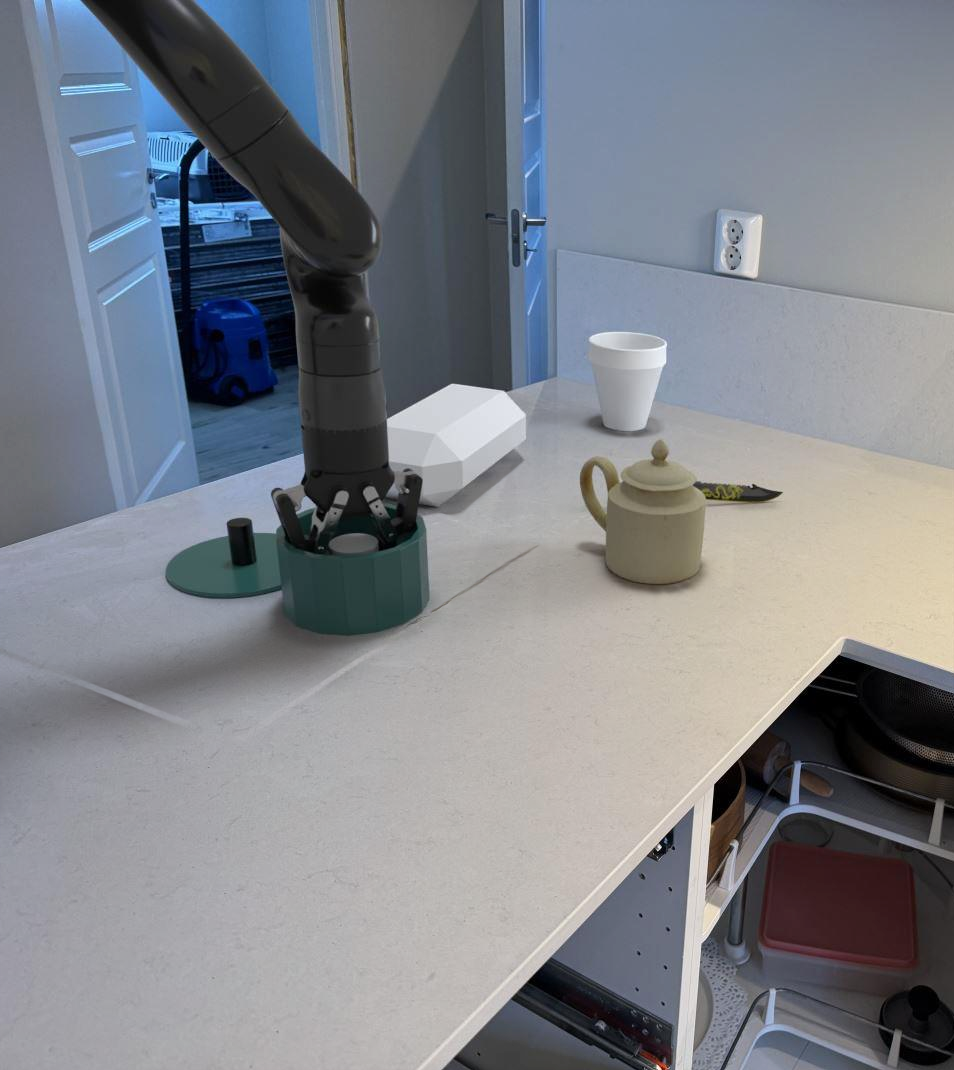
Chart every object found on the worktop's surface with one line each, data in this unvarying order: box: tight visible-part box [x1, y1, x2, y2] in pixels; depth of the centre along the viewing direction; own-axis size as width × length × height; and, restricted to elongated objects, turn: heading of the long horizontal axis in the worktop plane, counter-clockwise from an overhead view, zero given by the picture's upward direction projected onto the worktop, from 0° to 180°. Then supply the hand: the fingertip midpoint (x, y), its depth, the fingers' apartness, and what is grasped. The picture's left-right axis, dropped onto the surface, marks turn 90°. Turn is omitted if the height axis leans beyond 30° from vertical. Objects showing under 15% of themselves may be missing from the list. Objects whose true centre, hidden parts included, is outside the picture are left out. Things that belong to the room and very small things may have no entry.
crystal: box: [384, 383, 527, 508], centre depth 131 cm, size 14×10×28 cm
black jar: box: [329, 533, 379, 556], centre depth 98 cm, size 5×5×6 cm
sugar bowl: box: [579, 438, 707, 585], centre depth 110 cm, size 15×11×15 cm
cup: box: [587, 331, 668, 432], centre depth 157 cm, size 12×12×14 cm
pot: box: [275, 502, 431, 637], centre depth 98 cm, size 14×14×8 cm
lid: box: [165, 517, 282, 599], centre depth 103 cm, size 15×15×6 cm
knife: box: [693, 480, 784, 503], centre depth 130 cm, size 23×2×5 cm, turn 107°
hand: (355, 577), depth 98 cm, fingers open, 5 cm apart
